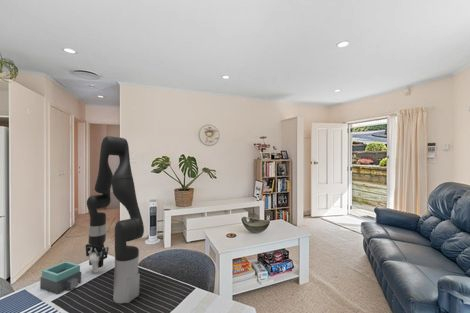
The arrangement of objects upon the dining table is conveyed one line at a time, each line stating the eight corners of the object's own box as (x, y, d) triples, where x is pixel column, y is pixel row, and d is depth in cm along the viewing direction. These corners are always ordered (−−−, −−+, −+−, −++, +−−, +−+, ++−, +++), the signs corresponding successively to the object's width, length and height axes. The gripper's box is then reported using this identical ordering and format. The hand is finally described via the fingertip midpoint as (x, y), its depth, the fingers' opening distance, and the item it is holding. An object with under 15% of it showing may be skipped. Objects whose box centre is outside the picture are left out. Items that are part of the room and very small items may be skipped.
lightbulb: (97, 276, 108) (98, 254, 108) (85, 275, 108) (86, 253, 109) (105, 270, 114) (106, 249, 115) (94, 269, 114) (94, 248, 115)
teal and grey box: (85, 283, 101) (85, 266, 101) (61, 296, 92) (62, 277, 92) (64, 277, 106) (64, 260, 107) (40, 288, 97) (40, 270, 97)
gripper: (114, 233, 113) (112, 265, 113) (94, 229, 118) (93, 260, 117) (100, 237, 106) (99, 272, 105) (80, 233, 111) (79, 266, 110)
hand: (96, 265), depth 111 cm, fingers closed on lightbulb, 5 cm apart
